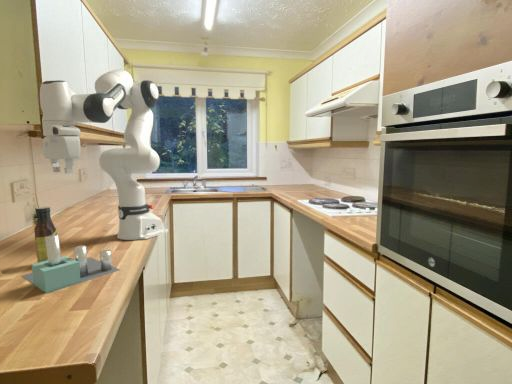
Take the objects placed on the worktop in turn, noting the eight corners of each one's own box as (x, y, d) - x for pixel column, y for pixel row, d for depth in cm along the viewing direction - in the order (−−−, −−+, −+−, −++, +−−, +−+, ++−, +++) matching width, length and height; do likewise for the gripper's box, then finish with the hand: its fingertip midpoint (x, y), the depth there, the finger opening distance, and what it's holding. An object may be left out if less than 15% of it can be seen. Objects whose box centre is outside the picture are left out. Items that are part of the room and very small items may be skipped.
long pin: (49, 283, 93) (43, 236, 90) (61, 279, 95) (55, 233, 93) (54, 286, 91) (47, 238, 88) (66, 282, 93) (60, 235, 91)
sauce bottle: (62, 265, 109) (57, 207, 106) (41, 270, 105) (35, 210, 102) (56, 260, 113) (51, 205, 111) (35, 265, 109) (29, 207, 106)
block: (67, 274, 99) (65, 255, 98) (80, 281, 94) (79, 262, 93) (33, 284, 92) (31, 264, 91) (46, 292, 87) (43, 271, 86)
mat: (90, 258, 115) (90, 257, 115) (120, 271, 103) (120, 269, 103) (21, 277, 99) (20, 275, 98) (47, 295, 86) (46, 293, 86)
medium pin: (85, 272, 101) (83, 244, 99) (90, 275, 99) (88, 246, 97) (74, 276, 98) (72, 247, 97) (79, 278, 96) (76, 249, 95)
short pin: (108, 266, 105) (107, 249, 105) (113, 269, 103) (112, 250, 103) (99, 269, 103) (97, 251, 102) (104, 272, 101) (102, 253, 100)
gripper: (36, 131, 110) (40, 172, 112) (61, 129, 98) (65, 174, 100) (56, 132, 115) (59, 170, 117) (82, 129, 103) (86, 173, 105)
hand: (62, 172), depth 108 cm, fingers open, 8 cm apart
